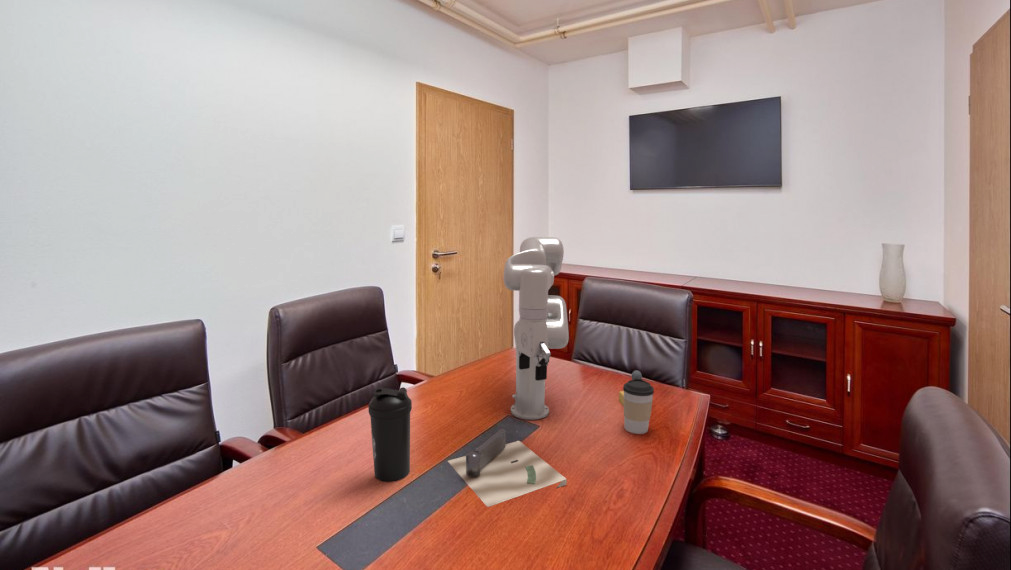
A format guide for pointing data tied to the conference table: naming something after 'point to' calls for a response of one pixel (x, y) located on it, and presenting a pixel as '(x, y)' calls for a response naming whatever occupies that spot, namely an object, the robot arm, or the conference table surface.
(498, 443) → the pointer lever
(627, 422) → the coffee cup
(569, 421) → the conference table surface
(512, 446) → the dial plate
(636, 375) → the rubber stamp
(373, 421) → the water bottle
